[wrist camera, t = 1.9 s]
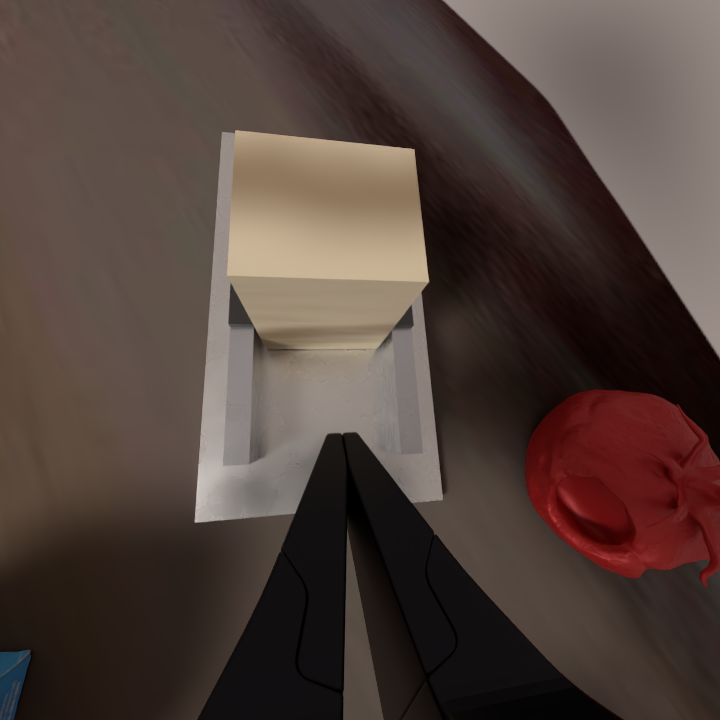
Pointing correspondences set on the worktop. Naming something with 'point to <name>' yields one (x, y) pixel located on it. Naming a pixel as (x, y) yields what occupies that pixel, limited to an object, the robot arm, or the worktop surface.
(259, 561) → the worktop surface
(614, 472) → the pomegranate
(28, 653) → the ink box
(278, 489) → the chute
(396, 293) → the block
